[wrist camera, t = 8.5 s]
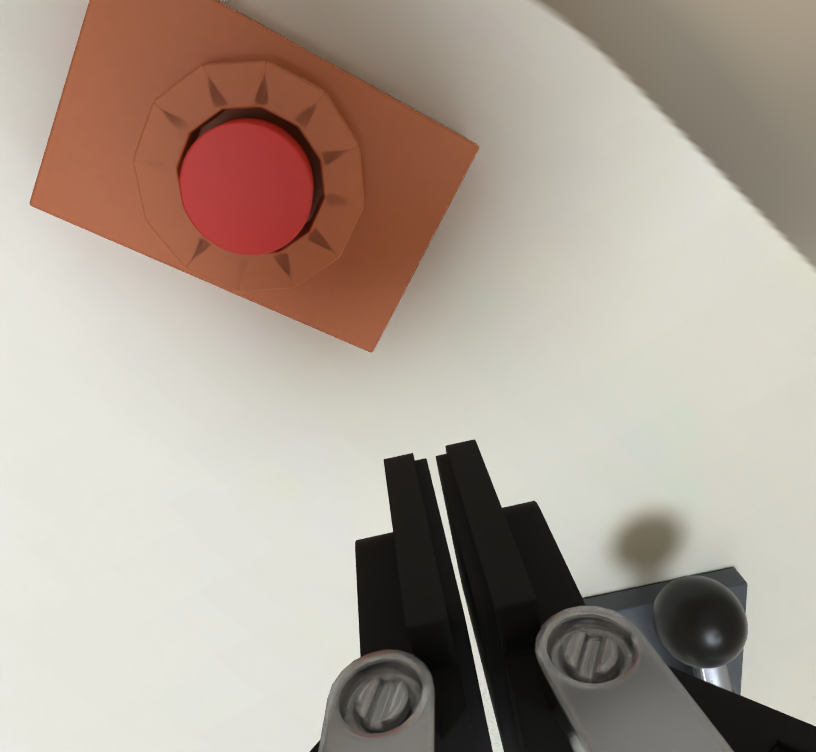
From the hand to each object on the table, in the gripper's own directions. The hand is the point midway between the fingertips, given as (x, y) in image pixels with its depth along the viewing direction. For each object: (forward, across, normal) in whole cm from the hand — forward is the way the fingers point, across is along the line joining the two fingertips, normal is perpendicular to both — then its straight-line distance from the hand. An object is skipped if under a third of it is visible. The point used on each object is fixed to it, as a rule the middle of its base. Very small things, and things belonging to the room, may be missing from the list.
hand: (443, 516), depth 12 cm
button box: (+15, +3, -5) cm, 16 cm away
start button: (+11, +3, -5) cm, 13 cm away
